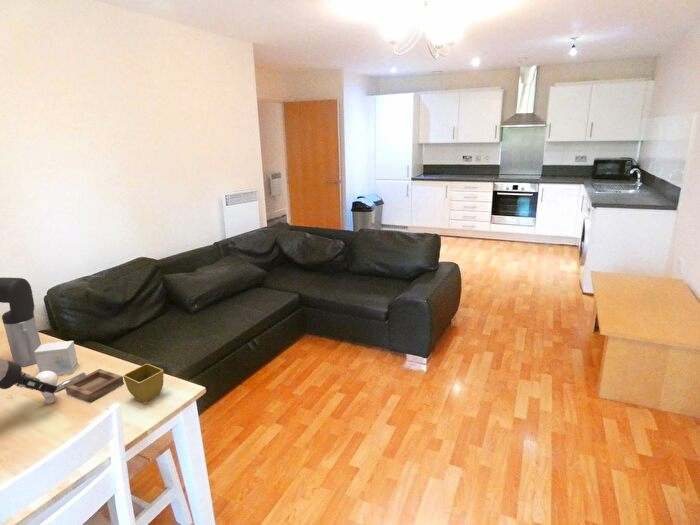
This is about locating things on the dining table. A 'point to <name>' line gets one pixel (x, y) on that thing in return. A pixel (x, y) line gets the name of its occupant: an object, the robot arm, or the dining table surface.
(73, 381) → the pin
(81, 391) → the brown wooden tray
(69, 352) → the skincare box
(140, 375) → the flower pot
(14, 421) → the dining table surface
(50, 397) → the lightbulb
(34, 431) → the dining table surface
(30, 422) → the dining table surface
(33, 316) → the robot arm
